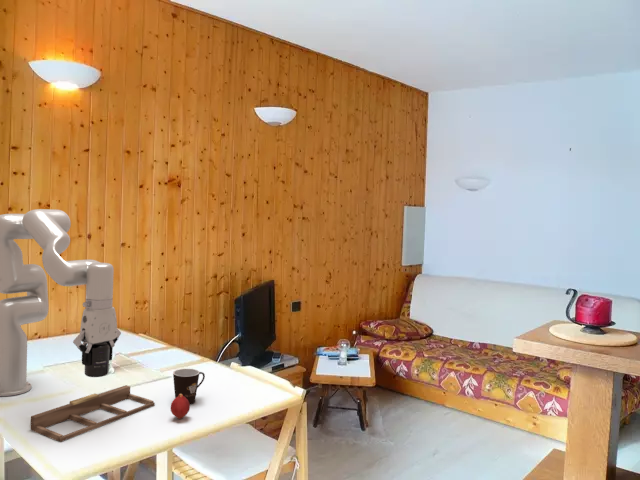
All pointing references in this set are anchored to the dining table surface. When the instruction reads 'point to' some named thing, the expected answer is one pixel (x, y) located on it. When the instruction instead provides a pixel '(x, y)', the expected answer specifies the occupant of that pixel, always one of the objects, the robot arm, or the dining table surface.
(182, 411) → the onion
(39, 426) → the divided wooden rack
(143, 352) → the dining table surface
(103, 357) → the supplement bottle
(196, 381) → the coffee mug
